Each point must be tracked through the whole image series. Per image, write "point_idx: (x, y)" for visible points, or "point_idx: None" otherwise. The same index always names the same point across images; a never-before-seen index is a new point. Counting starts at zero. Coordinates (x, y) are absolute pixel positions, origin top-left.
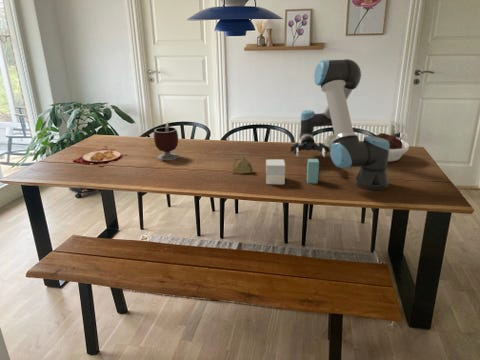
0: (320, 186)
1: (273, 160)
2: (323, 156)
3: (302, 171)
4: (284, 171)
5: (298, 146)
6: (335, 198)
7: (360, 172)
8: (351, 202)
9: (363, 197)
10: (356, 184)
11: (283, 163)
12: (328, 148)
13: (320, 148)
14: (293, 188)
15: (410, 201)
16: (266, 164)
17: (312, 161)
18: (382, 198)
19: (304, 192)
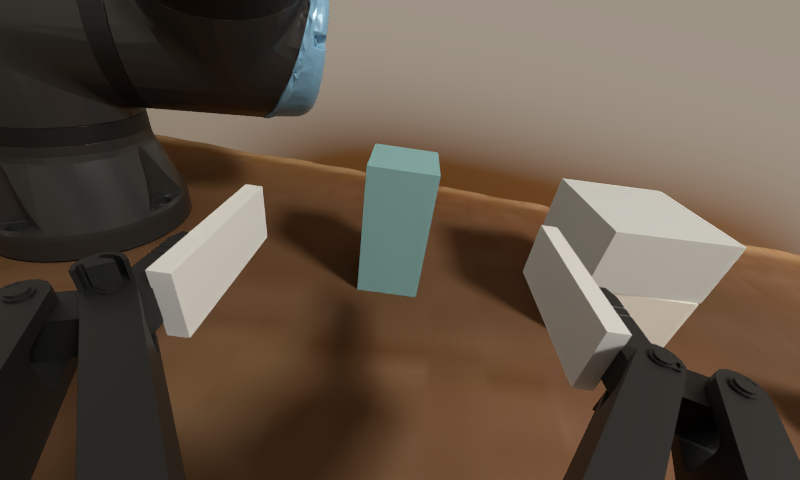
0: None
1: (678, 229)
2: (263, 240)
3: (433, 444)
4: (552, 209)
5: (636, 418)
6: (342, 177)
7: (153, 156)
8: (306, 161)
9: (247, 168)
10: (185, 216)
11: (584, 193)
12: (36, 287)
13: (155, 356)
14: (479, 234)
15: None
16: (671, 198)
17: (413, 152)
18: (190, 158)
19: (436, 210)
